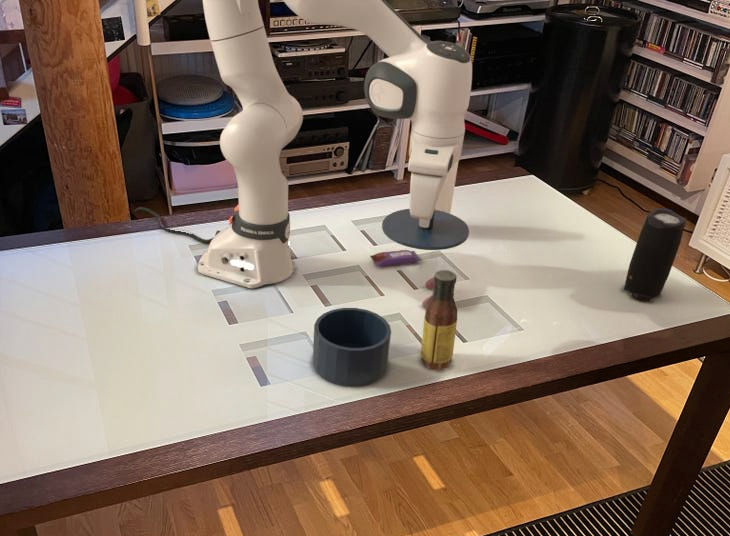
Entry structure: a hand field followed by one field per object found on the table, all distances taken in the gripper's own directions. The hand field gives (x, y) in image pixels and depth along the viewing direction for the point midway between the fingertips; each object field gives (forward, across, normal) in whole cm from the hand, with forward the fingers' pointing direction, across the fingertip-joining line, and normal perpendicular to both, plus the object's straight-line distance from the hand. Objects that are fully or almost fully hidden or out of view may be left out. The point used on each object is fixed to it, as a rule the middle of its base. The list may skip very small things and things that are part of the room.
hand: (426, 221), depth 137 cm
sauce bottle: (+30, +1, +5) cm, 30 cm away
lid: (+2, 0, 0) cm, 2 cm away
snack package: (+30, -37, -10) cm, 48 cm away
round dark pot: (+29, +7, -11) cm, 32 cm away
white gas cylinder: (+30, -57, -4) cm, 64 cm away
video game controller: (+30, -23, +2) cm, 38 cm away
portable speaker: (+30, -41, +47) cm, 69 cm away
